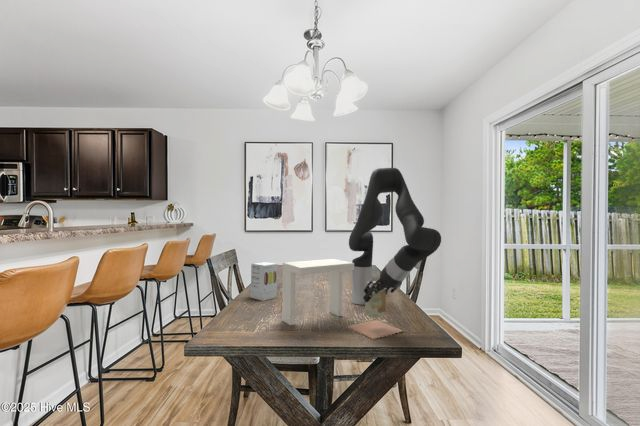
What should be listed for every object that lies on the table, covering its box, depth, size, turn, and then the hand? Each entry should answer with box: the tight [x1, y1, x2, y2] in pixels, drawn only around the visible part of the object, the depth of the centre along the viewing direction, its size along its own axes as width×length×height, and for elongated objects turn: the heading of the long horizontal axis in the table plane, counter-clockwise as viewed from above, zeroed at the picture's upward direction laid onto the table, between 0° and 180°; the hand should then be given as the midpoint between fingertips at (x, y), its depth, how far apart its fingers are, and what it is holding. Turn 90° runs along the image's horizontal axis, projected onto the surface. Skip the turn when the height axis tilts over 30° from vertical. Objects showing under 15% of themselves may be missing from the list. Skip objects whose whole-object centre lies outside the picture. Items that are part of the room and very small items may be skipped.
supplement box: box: [250, 261, 278, 302], centre depth 170 cm, size 10×9×17 cm
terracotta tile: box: [347, 319, 404, 340], centre depth 125 cm, size 14×14×1 cm
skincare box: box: [364, 280, 387, 319], centre depth 125 cm, size 6×4×12 cm
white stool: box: [281, 258, 354, 326], centre depth 135 cm, size 24×14×22 cm, turn 123°
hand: (372, 298), depth 126 cm, fingers closed on skincare box, 6 cm apart
